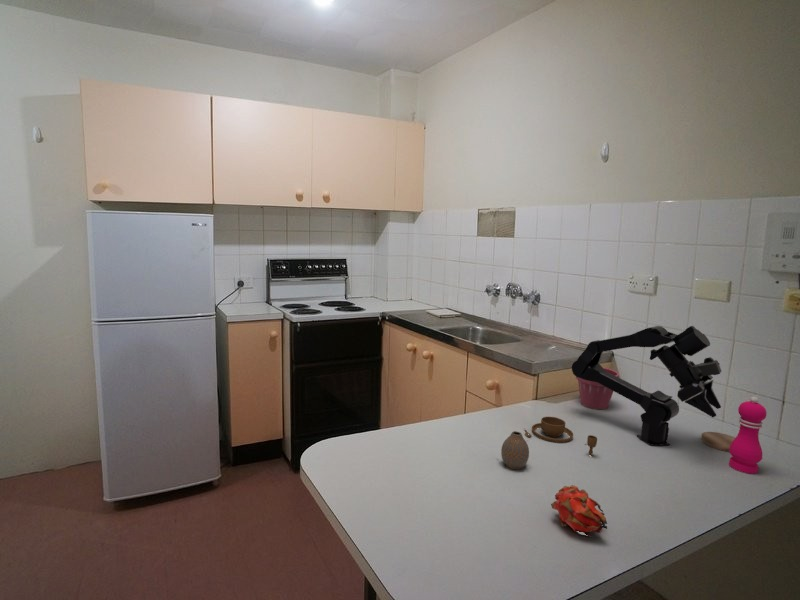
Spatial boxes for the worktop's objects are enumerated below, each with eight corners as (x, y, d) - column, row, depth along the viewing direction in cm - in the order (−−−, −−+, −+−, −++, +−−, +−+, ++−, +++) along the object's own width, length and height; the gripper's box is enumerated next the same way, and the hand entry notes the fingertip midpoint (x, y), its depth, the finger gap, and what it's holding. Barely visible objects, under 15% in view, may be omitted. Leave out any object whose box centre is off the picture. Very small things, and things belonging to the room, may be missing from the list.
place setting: (575, 430, 147) (577, 412, 146) (599, 460, 127) (601, 439, 127) (519, 426, 148) (521, 408, 147) (534, 455, 128) (536, 435, 127)
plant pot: (568, 396, 177) (572, 363, 176) (607, 399, 176) (611, 366, 174) (579, 410, 163) (583, 374, 162) (621, 414, 162) (625, 378, 160)
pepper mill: (750, 477, 121) (763, 402, 119) (721, 464, 128) (732, 393, 125) (765, 471, 125) (777, 399, 122) (735, 459, 131) (746, 390, 128)
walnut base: (721, 453, 135) (722, 448, 135) (692, 436, 146) (693, 432, 145) (754, 452, 137) (755, 447, 136) (723, 436, 147) (724, 431, 147)
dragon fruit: (552, 515, 102) (599, 555, 93) (535, 504, 97) (583, 545, 88) (574, 483, 103) (623, 519, 93) (558, 470, 98) (608, 507, 89)
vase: (529, 463, 123) (532, 431, 121) (525, 474, 116) (528, 441, 115) (503, 456, 125) (506, 425, 124) (497, 467, 119) (500, 434, 118)
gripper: (697, 354, 123) (742, 406, 118) (708, 344, 137) (749, 390, 132) (660, 376, 129) (701, 426, 124) (674, 364, 144) (711, 409, 138)
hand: (717, 412), depth 129 cm, fingers open, 9 cm apart
